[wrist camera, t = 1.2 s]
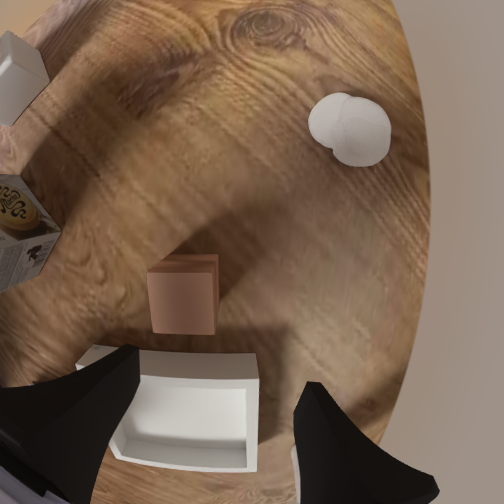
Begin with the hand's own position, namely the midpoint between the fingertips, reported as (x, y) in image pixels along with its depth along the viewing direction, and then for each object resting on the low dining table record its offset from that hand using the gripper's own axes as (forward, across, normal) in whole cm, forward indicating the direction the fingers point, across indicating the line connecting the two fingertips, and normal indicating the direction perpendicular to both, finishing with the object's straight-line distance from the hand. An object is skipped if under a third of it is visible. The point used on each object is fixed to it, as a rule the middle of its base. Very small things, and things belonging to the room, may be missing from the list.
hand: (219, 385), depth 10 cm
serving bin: (+10, +4, +14) cm, 18 cm away
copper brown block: (+12, +4, 0) cm, 12 cm away
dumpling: (+14, -6, -14) cm, 20 cm away
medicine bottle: (+12, +28, -16) cm, 35 cm away
